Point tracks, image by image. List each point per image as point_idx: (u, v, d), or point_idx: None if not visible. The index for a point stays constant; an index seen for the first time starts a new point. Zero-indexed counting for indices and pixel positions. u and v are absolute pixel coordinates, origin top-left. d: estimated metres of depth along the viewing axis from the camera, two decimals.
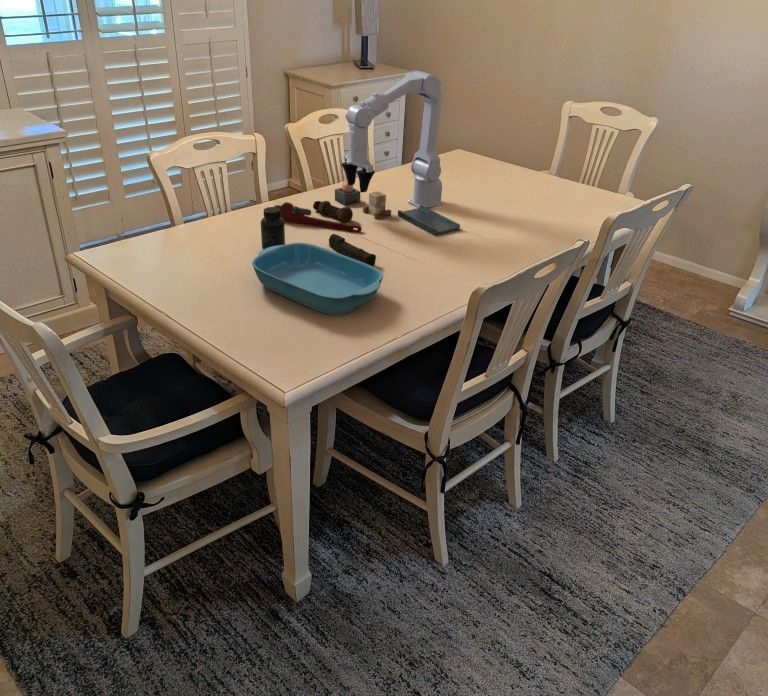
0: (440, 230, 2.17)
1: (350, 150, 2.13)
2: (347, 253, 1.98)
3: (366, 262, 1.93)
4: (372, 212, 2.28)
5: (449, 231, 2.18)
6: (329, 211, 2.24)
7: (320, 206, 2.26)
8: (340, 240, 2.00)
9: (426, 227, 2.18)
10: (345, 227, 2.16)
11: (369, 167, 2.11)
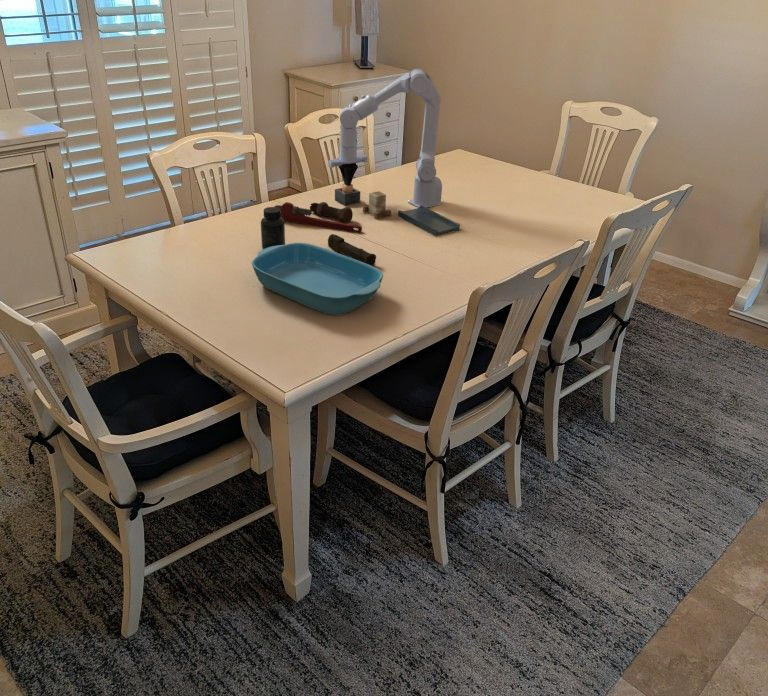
0: (440, 230, 2.17)
1: None
2: (347, 253, 1.98)
3: (366, 262, 1.93)
4: (372, 212, 2.28)
5: (449, 231, 2.18)
6: (328, 212, 2.23)
7: (318, 208, 2.24)
8: (339, 240, 2.00)
9: (426, 227, 2.18)
10: (345, 227, 2.16)
11: (329, 162, 2.28)
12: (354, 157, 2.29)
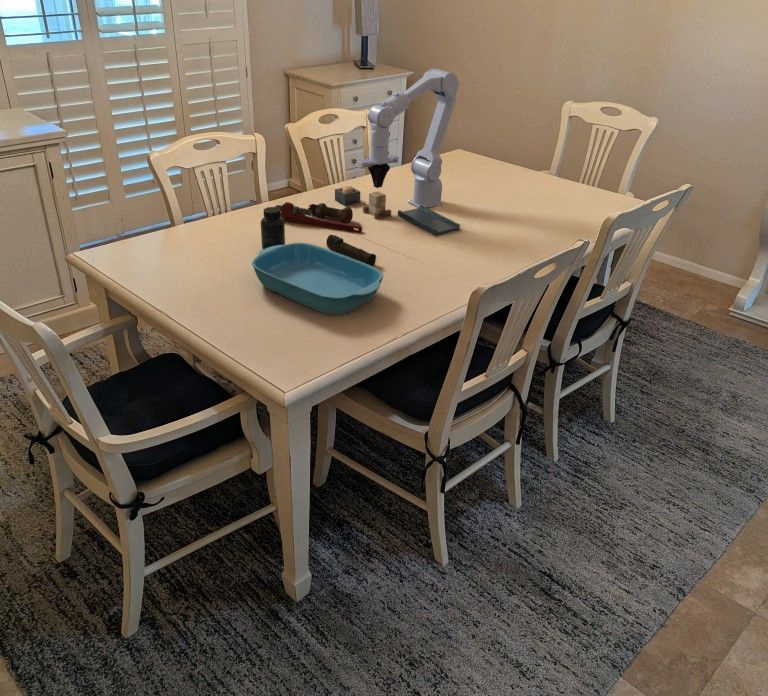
0: (440, 230, 2.17)
1: None
2: (346, 253, 1.98)
3: (367, 262, 1.93)
4: (372, 212, 2.28)
5: (449, 231, 2.18)
6: (328, 213, 2.22)
7: (317, 209, 2.23)
8: (339, 241, 2.00)
9: (426, 227, 2.18)
10: (346, 227, 2.16)
11: (359, 162, 2.17)
12: (385, 157, 2.18)
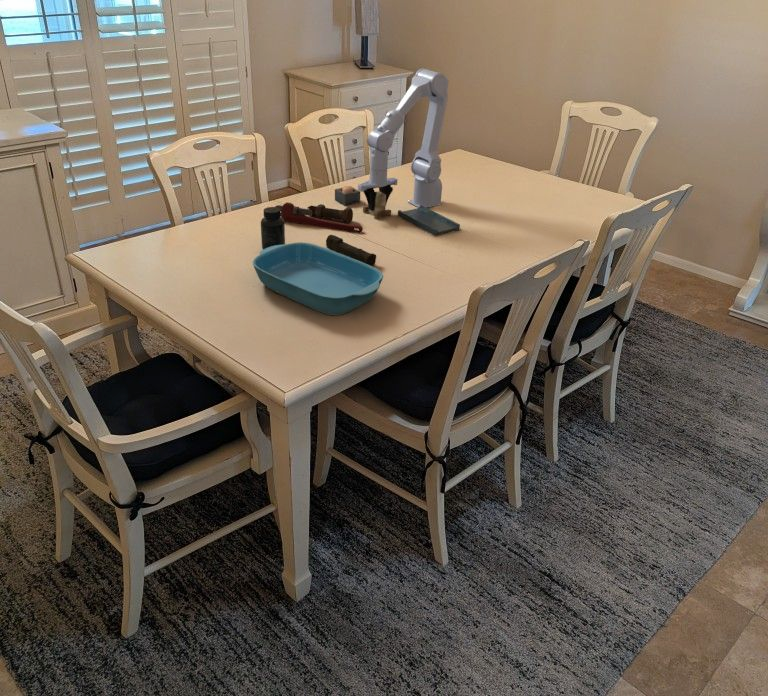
0: (440, 230, 2.17)
1: None
2: (346, 253, 1.98)
3: (367, 262, 1.93)
4: (372, 212, 2.28)
5: (449, 231, 2.18)
6: (328, 214, 2.22)
7: (317, 210, 2.22)
8: (338, 241, 1.99)
9: (426, 227, 2.18)
10: (346, 227, 2.16)
11: (359, 185, 2.21)
12: (385, 180, 2.22)
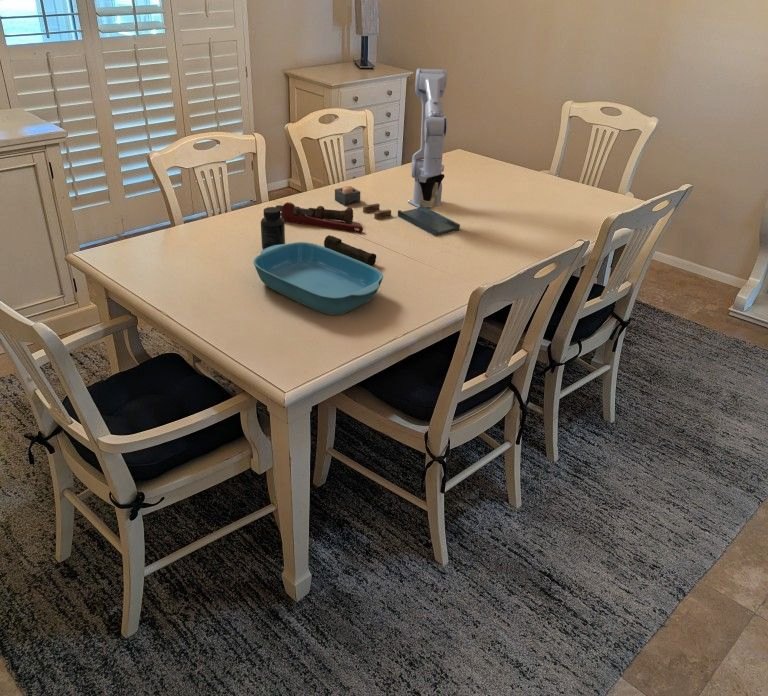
0: (440, 230, 2.17)
1: None
2: (346, 254, 1.98)
3: (367, 262, 1.93)
4: (426, 203, 2.20)
5: (449, 231, 2.18)
6: (329, 215, 2.21)
7: (317, 212, 2.21)
8: (337, 241, 1.99)
9: (426, 227, 2.18)
10: (346, 227, 2.16)
11: (421, 177, 2.11)
12: (441, 168, 2.15)
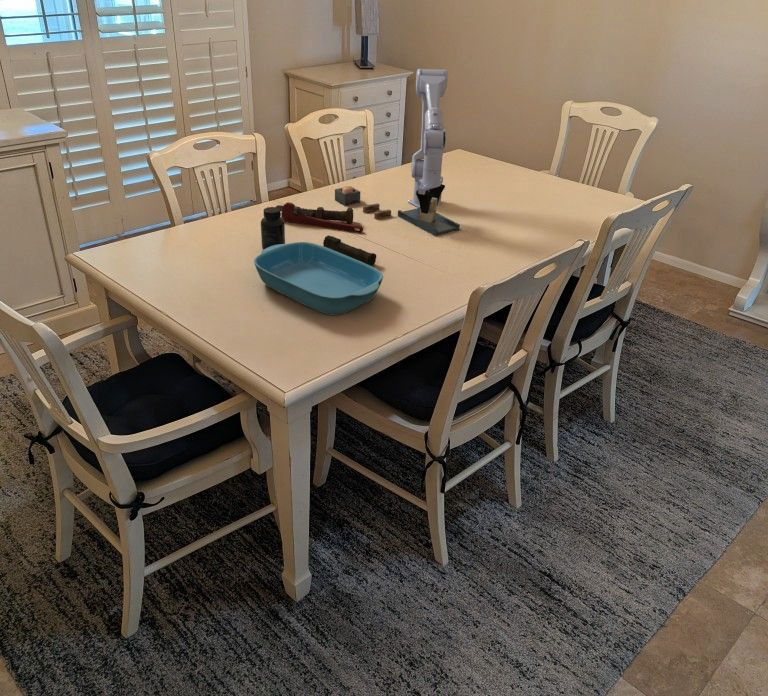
0: (440, 230, 2.17)
1: None
2: (345, 254, 1.98)
3: (368, 262, 1.93)
4: (425, 218, 2.22)
5: (449, 231, 2.18)
6: (330, 216, 2.20)
7: (318, 213, 2.20)
8: (337, 241, 1.99)
9: (426, 227, 2.18)
10: (347, 227, 2.16)
11: (420, 189, 2.13)
12: (440, 180, 2.17)
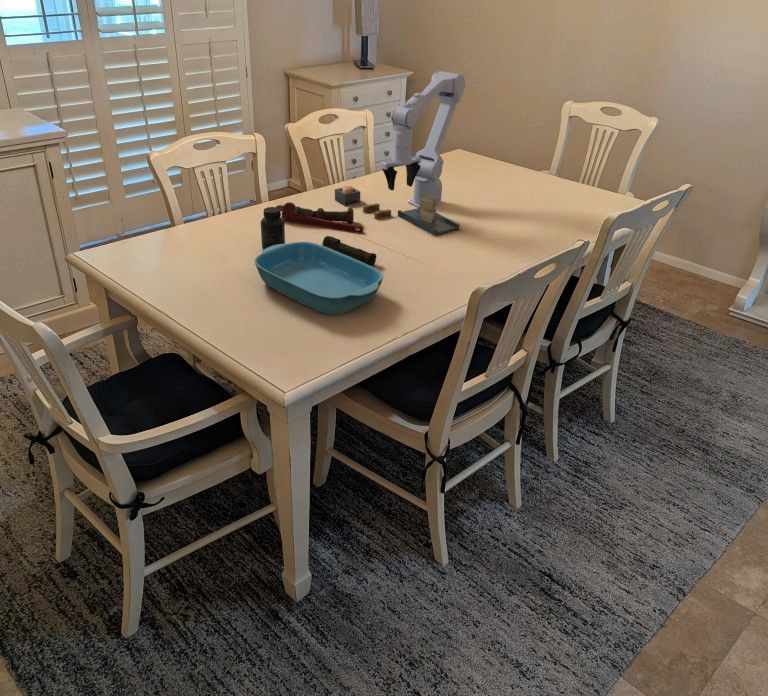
0: (440, 230, 2.17)
1: None
2: (345, 254, 1.98)
3: (368, 262, 1.93)
4: (425, 218, 2.22)
5: (449, 231, 2.18)
6: (331, 217, 2.20)
7: (319, 214, 2.19)
8: (336, 242, 1.99)
9: (426, 227, 2.18)
10: (347, 227, 2.16)
11: (383, 163, 2.17)
12: (409, 158, 2.19)
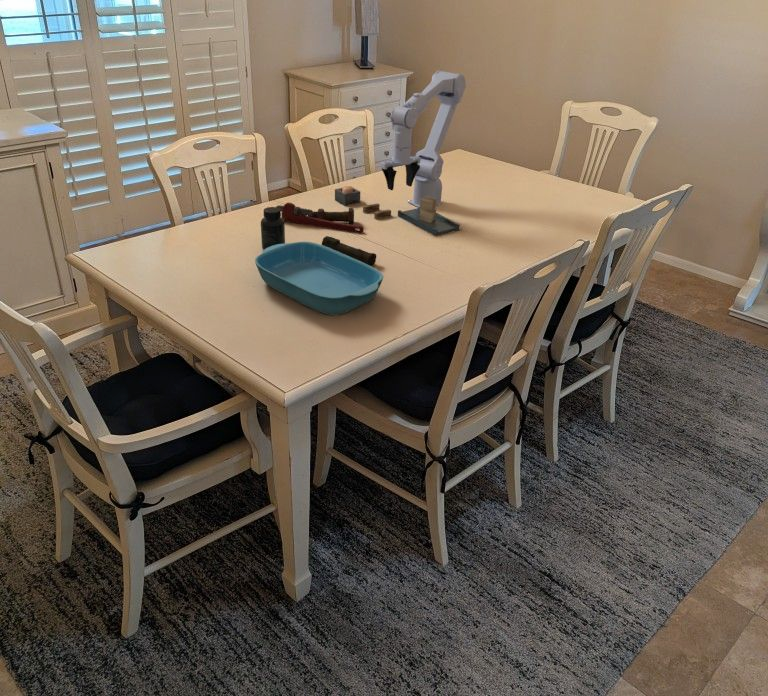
0: (440, 230, 2.17)
1: None
2: (345, 254, 1.97)
3: (368, 262, 1.93)
4: (425, 218, 2.22)
5: (449, 231, 2.18)
6: (332, 217, 2.19)
7: (319, 215, 2.19)
8: (336, 242, 1.99)
9: (426, 227, 2.18)
10: (347, 227, 2.16)
11: (382, 163, 2.17)
12: (408, 158, 2.19)
